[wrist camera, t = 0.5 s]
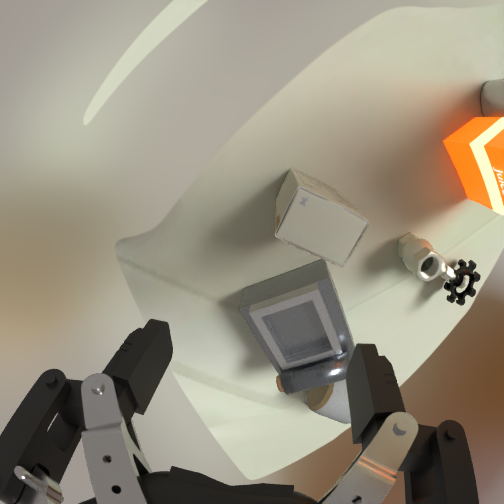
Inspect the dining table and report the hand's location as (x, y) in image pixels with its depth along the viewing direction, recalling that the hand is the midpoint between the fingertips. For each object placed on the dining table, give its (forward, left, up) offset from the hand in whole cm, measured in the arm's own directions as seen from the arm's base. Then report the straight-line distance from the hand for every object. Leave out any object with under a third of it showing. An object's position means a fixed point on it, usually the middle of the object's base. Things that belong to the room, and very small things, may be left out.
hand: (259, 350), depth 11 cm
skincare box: (-4, 0, -23) cm, 23 cm away
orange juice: (-28, +3, -23) cm, 36 cm away
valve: (-17, +14, -23) cm, 32 cm away
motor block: (+2, +15, -23) cm, 27 cm away
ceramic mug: (+3, +32, -23) cm, 39 cm away
